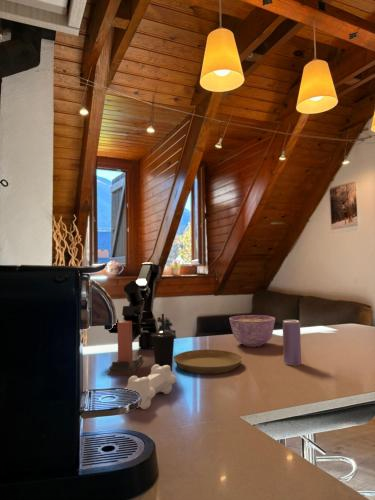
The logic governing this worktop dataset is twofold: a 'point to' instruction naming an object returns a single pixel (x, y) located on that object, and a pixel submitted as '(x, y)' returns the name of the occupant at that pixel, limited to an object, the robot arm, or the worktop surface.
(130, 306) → the robot arm
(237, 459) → the worktop surface
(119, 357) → the post
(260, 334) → the bowl of food
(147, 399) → the bone shaped toy
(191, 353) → the plant saucer
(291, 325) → the beverage can
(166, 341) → the drinking cup
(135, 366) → the press track
